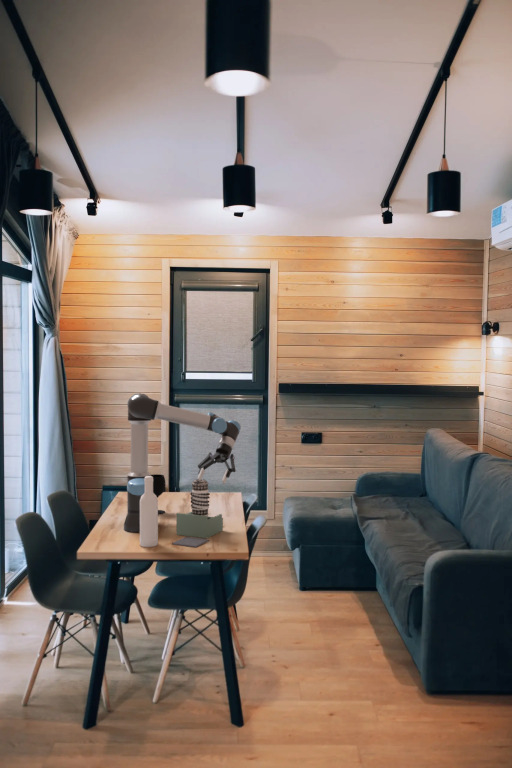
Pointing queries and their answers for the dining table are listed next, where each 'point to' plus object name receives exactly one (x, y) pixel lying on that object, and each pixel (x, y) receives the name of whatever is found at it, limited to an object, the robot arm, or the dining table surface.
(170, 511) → the dining table surface
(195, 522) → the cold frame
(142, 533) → the bottle
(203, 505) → the decorative candle
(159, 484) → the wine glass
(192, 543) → the mat
